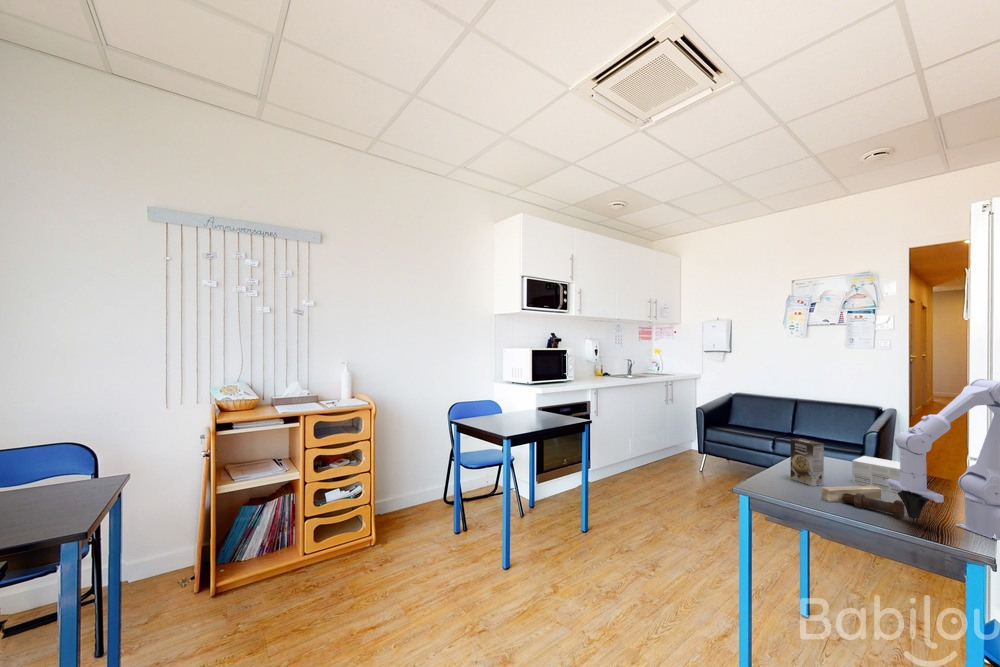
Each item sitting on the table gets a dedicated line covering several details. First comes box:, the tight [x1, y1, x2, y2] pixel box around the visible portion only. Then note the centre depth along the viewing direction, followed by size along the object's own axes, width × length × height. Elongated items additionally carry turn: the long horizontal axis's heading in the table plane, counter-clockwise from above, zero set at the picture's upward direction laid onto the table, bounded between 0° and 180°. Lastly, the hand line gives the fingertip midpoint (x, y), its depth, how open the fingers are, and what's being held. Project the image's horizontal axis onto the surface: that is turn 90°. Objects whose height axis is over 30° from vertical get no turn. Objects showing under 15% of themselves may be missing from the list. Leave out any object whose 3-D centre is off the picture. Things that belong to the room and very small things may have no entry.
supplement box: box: [851, 455, 902, 494], centre depth 161 cm, size 17×13×9 cm
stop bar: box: [821, 485, 882, 503], centre depth 147 cm, size 3×20×4 cm, turn 97°
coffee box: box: [790, 438, 825, 487], centre depth 166 cm, size 9×6×16 cm
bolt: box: [842, 493, 906, 520], centre depth 138 cm, size 6×5×15 cm
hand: (913, 517), depth 127 cm, fingers closed
